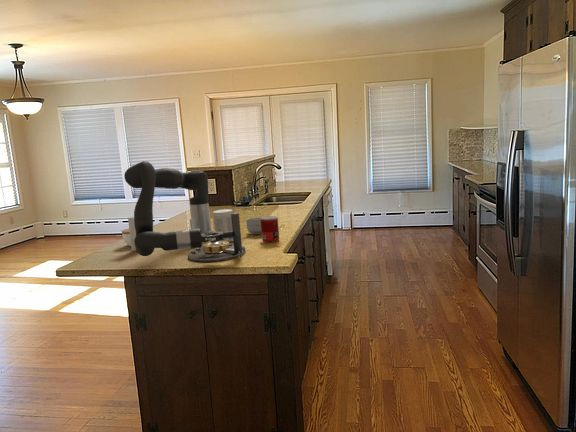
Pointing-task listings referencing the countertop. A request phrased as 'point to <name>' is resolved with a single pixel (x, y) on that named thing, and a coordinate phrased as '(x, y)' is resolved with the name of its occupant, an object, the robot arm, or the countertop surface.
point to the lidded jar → (126, 236)
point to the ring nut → (225, 244)
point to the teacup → (254, 225)
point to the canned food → (270, 229)
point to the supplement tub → (223, 222)
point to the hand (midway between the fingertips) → (232, 234)
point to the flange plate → (213, 254)
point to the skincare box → (132, 232)
